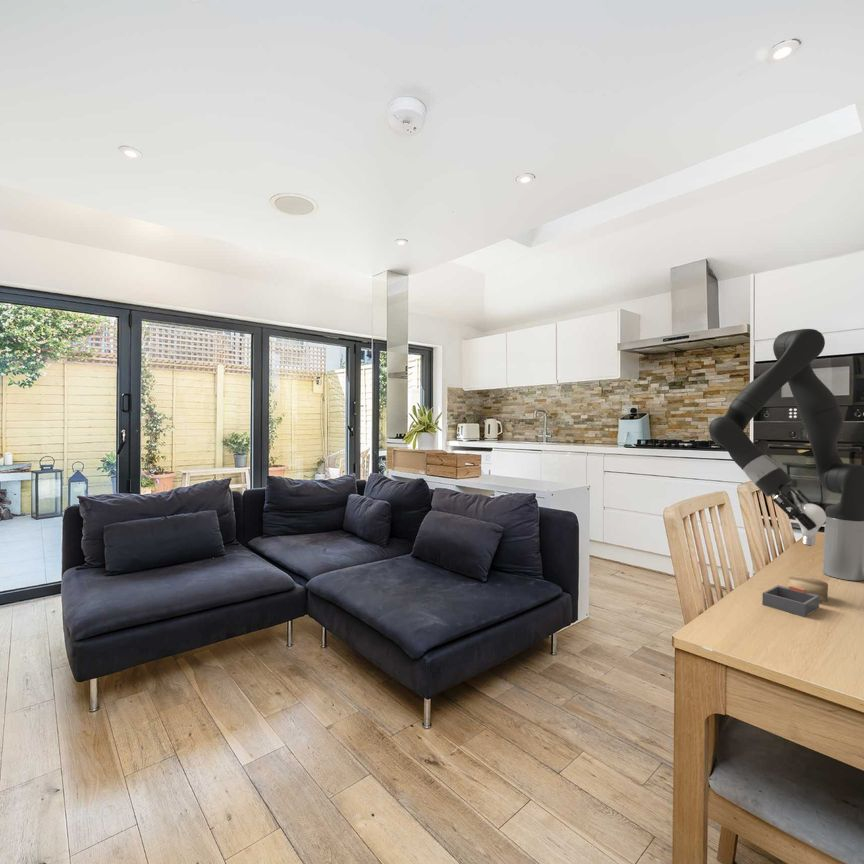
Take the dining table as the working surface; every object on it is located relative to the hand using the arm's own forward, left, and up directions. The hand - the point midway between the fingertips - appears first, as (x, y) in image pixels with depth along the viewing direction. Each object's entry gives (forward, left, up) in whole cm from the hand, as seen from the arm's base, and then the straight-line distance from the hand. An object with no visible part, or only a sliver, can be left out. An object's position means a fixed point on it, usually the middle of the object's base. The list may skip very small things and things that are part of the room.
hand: (817, 526), depth 121 cm
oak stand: (0, -2, -19) cm, 19 cm away
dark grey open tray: (+12, -2, -19) cm, 22 cm away
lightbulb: (0, -2, -6) cm, 6 cm away
